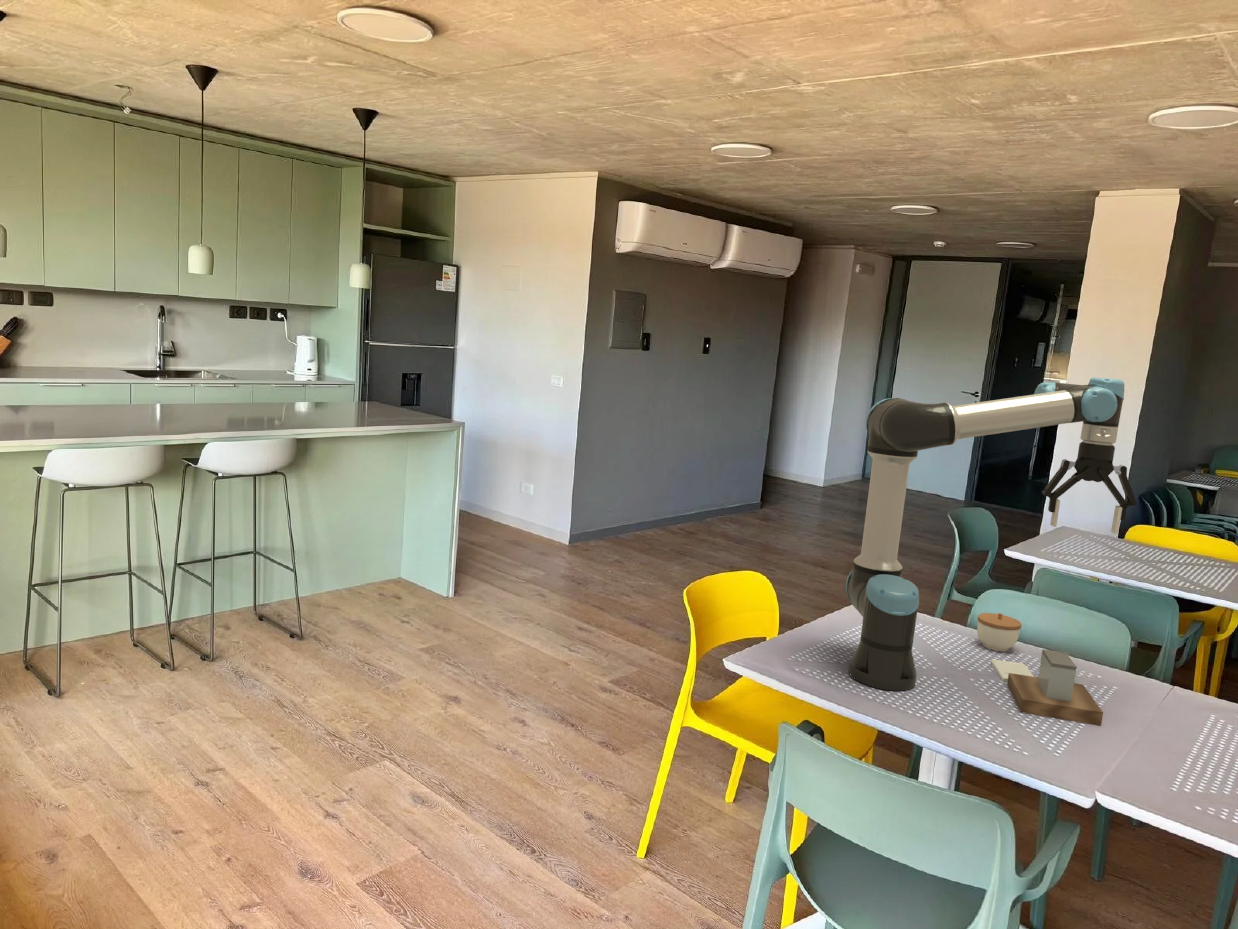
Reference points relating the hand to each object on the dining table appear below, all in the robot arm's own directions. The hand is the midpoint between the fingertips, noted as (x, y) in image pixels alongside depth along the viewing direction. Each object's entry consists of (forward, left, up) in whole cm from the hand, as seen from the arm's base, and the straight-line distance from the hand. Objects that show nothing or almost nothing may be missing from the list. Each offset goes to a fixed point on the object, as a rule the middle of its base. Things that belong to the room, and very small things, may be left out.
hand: (1083, 529), depth 207 cm
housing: (-7, -23, -34) cm, 41 cm away
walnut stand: (-7, -23, -37) cm, 44 cm away
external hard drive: (-12, -7, -38) cm, 40 cm away
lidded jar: (-13, +13, -37) cm, 41 cm away
